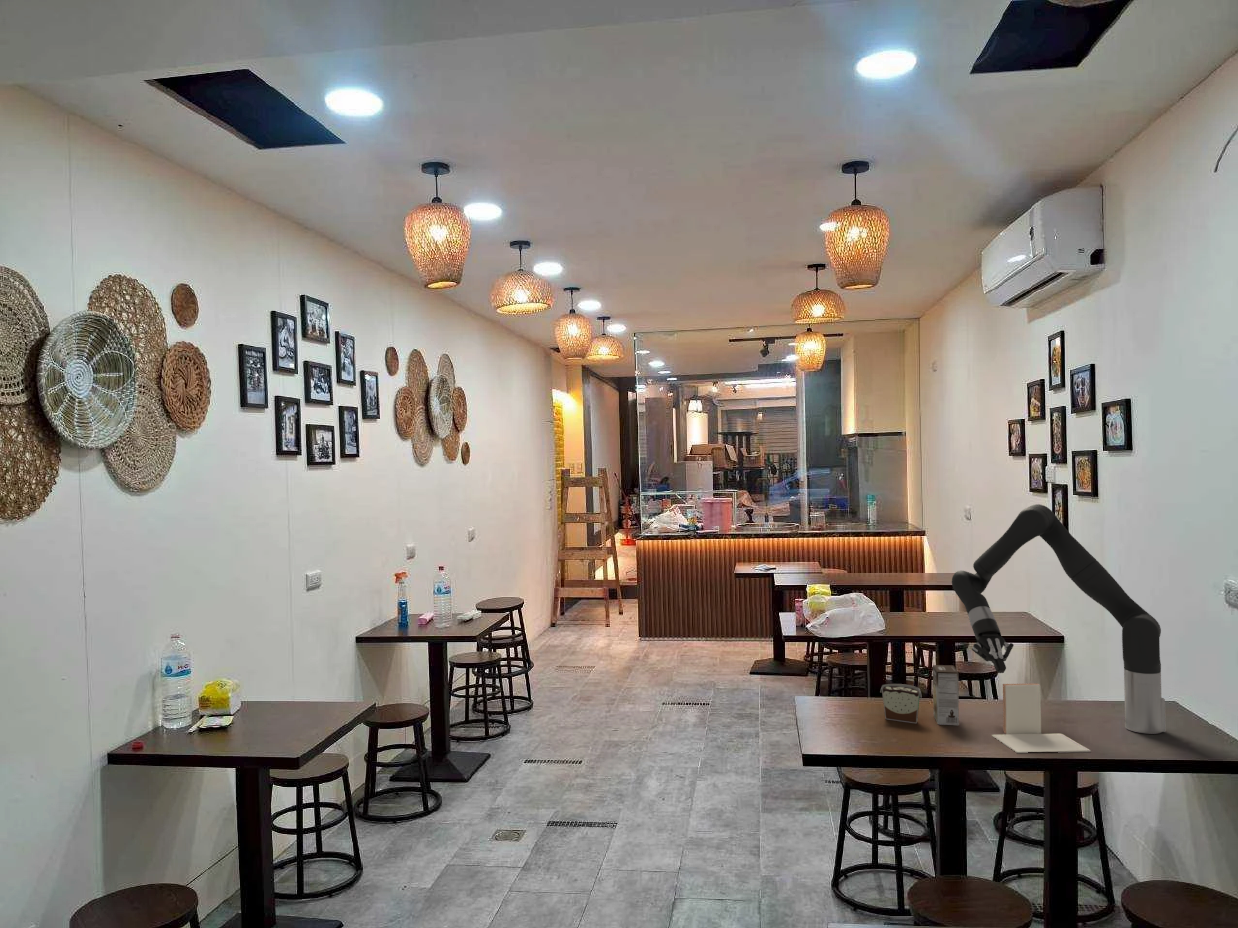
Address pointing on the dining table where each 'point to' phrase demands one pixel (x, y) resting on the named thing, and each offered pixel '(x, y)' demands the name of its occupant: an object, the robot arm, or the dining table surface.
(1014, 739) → the mat
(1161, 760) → the dining table surface
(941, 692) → the coffee box
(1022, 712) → the tan flat block
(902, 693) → the food container
